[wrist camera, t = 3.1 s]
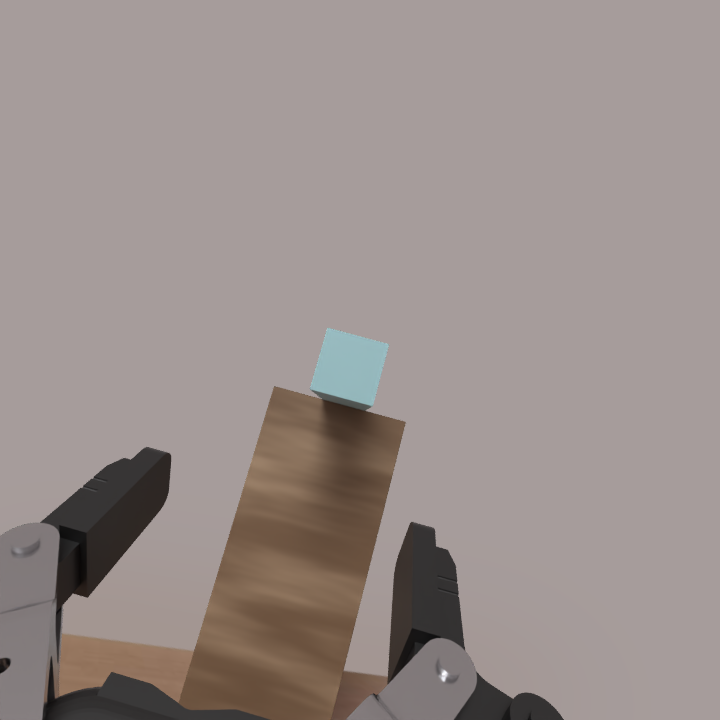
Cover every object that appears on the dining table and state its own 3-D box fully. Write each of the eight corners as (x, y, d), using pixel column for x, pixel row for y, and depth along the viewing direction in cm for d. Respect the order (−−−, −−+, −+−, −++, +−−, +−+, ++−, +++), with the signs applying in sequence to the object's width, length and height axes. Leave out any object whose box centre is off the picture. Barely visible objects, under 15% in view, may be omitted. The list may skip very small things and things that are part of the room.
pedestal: (212, 707, 42) (302, 398, 47) (308, 735, 42) (388, 422, 46) (125, 879, 26) (274, 386, 31) (278, 927, 26) (405, 421, 31)
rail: (331, 406, 46) (339, 378, 47) (359, 414, 46) (366, 386, 47) (309, 389, 21) (327, 327, 21) (372, 406, 21) (389, 344, 21)
